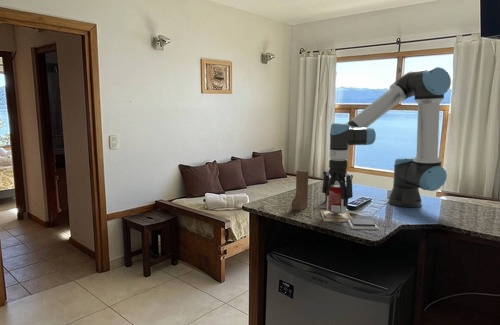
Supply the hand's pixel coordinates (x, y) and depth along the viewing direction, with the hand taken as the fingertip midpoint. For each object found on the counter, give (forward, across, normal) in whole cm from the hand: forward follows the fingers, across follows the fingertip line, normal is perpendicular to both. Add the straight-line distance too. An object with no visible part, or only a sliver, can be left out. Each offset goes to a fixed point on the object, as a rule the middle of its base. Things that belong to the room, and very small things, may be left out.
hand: (336, 211), depth 156 cm
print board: (+3, 0, 0) cm, 3 cm away
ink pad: (+3, +14, -1) cm, 14 cm away
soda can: (+1, 0, 0) cm, 1 cm away
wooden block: (+3, -20, -2) cm, 20 cm away
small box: (+3, -15, +19) cm, 25 cm away
